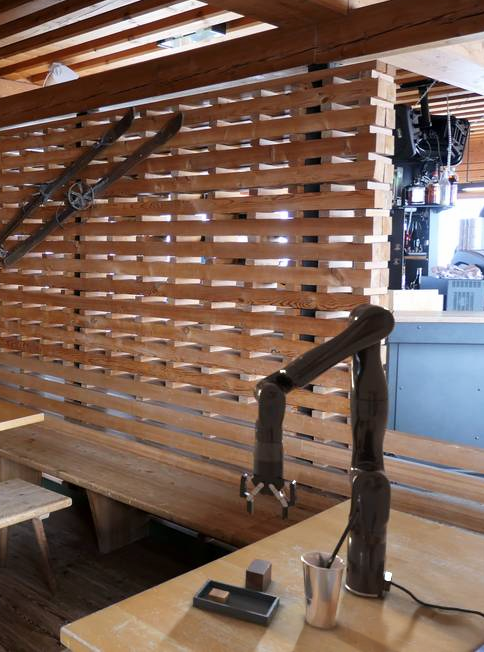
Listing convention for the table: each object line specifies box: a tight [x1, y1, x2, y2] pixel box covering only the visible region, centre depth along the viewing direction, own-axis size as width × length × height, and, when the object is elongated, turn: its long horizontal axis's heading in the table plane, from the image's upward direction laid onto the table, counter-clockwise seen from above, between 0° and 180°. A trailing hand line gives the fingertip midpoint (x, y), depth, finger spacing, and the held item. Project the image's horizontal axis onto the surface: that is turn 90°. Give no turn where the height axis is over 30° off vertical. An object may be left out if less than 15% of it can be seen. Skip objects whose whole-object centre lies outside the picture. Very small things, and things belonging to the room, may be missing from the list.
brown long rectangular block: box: [244, 558, 273, 593], centre depth 196 cm, size 4×9×6 cm, turn 148°
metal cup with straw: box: [299, 509, 359, 630], centre depth 176 cm, size 11×11×30 cm
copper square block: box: [209, 588, 229, 604], centre depth 187 cm, size 4×4×2 cm
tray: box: [192, 578, 281, 627], centre depth 185 cm, size 18×12×2 cm
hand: (267, 516), depth 196 cm, fingers open, 8 cm apart
